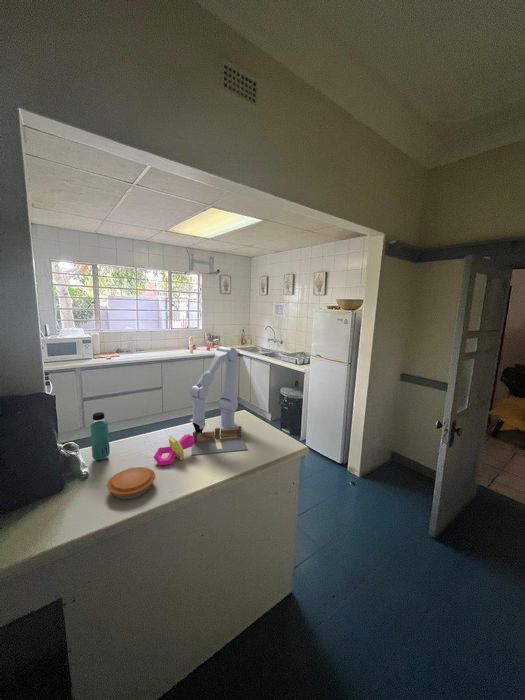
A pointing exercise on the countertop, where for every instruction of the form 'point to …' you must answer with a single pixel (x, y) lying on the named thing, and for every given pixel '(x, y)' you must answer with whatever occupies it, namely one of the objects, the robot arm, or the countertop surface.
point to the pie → (131, 482)
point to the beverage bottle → (99, 437)
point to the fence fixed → (227, 432)
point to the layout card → (218, 445)
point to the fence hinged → (203, 436)
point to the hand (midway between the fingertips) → (198, 436)
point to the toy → (174, 449)
